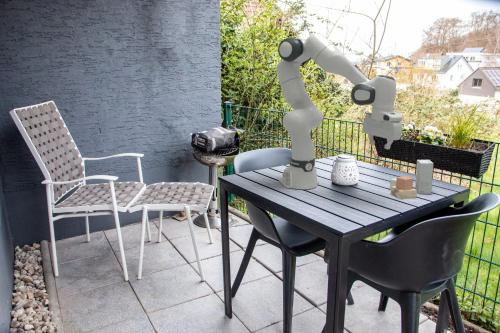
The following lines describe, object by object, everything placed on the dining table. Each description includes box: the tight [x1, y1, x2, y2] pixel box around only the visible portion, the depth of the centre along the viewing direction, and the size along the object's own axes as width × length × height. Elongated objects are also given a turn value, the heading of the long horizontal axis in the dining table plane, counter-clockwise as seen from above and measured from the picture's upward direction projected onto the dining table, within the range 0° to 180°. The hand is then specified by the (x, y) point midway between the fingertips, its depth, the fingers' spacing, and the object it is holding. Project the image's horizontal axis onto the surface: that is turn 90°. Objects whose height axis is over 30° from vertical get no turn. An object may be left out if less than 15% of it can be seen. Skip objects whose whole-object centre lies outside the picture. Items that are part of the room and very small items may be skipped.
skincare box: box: [414, 159, 434, 195], centre depth 177 cm, size 8×6×15 cm
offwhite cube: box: [389, 177, 397, 190], centre depth 183 cm, size 5×5×5 cm
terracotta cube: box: [396, 175, 414, 191], centre depth 172 cm, size 5×5×5 cm
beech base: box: [390, 186, 418, 200], centre depth 173 cm, size 8×8×4 cm
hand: (379, 146), depth 164 cm, fingers open, 8 cm apart
